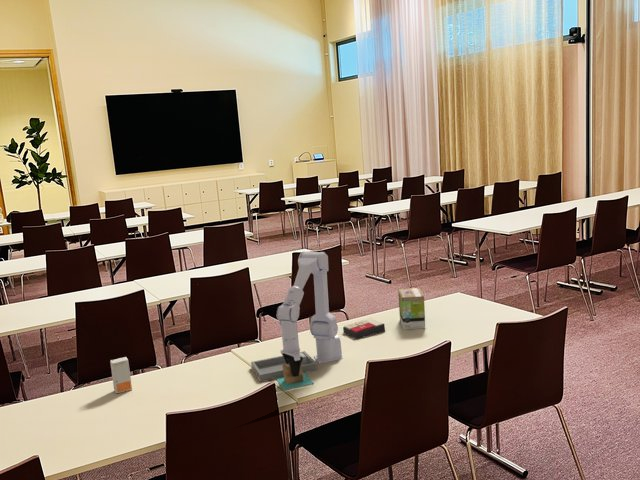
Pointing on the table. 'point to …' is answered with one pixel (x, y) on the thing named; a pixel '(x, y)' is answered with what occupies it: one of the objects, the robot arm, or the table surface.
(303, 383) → the mat
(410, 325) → the tea box
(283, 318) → the robot arm
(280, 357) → the parts bin
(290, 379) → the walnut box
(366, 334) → the black and red box
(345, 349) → the table surface
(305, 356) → the grey box
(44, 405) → the table surface
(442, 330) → the table surface
